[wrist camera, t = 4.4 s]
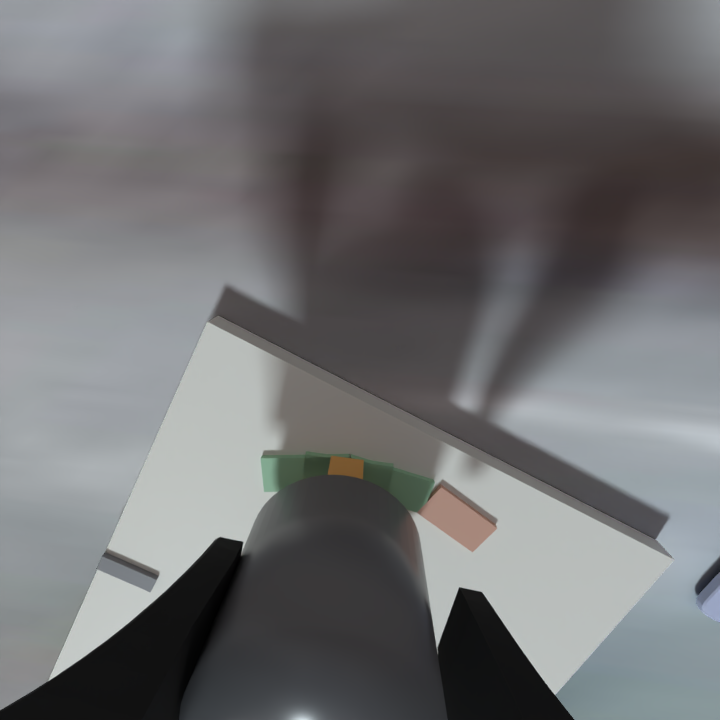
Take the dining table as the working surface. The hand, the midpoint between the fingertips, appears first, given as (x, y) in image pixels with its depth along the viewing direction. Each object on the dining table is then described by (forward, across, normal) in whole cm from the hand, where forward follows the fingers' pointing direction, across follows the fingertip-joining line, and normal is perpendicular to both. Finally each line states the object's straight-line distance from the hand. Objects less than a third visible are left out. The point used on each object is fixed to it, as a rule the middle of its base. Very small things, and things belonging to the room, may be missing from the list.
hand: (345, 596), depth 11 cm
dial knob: (+3, 0, +3) cm, 4 cm away
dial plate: (+4, 0, +6) cm, 8 cm away
